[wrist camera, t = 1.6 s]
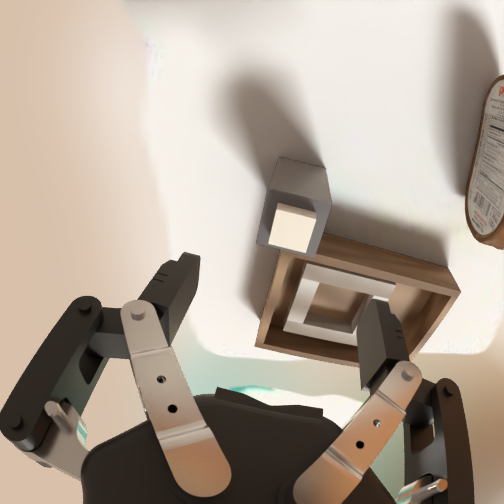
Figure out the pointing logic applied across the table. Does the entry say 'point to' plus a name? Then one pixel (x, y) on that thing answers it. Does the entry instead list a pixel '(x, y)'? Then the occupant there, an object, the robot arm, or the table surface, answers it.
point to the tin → (488, 173)
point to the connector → (295, 208)
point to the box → (350, 299)
